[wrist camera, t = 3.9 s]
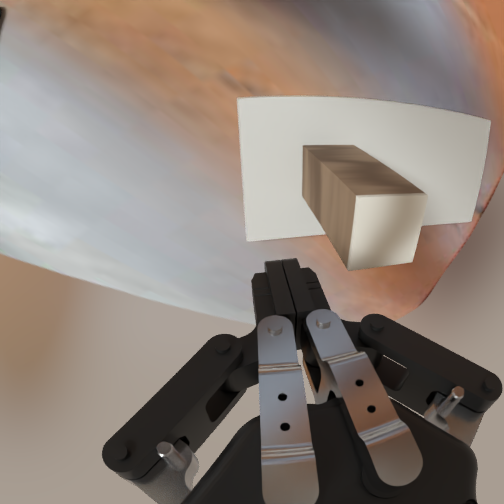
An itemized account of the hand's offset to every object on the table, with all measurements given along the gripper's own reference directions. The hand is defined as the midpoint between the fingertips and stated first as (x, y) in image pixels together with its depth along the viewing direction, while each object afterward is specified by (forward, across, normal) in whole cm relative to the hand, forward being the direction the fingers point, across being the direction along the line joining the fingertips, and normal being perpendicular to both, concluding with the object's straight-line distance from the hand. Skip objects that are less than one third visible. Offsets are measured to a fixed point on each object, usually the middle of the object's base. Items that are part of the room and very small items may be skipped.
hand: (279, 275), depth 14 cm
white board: (+17, -14, 0) cm, 22 cm away
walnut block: (+15, -7, 0) cm, 17 cm away
